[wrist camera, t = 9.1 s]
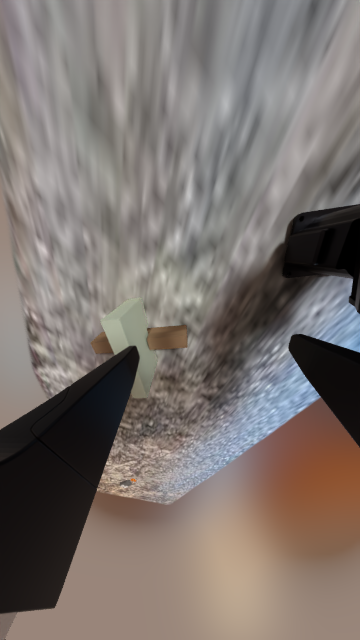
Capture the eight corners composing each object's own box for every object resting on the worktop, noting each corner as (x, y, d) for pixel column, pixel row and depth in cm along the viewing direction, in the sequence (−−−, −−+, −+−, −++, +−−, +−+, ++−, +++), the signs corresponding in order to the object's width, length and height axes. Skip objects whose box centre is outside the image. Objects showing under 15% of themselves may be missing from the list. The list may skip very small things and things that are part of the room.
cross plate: (128, 299, 19) (100, 320, 13) (141, 297, 19) (119, 319, 13) (146, 361, 25) (133, 398, 18) (157, 360, 24) (147, 397, 18)
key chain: (127, 483, 57) (126, 489, 56) (119, 481, 56) (118, 486, 55) (144, 476, 52) (143, 482, 51) (136, 473, 51) (135, 479, 50)
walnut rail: (186, 325, 21) (186, 335, 18) (187, 335, 22) (187, 347, 19) (102, 332, 22) (90, 342, 20) (106, 341, 23) (95, 353, 20)
